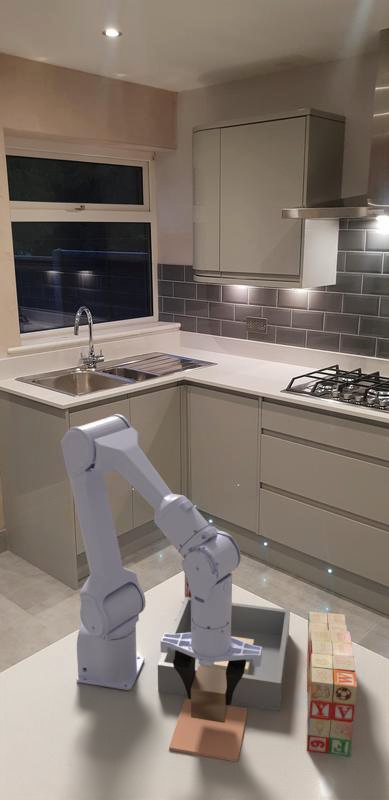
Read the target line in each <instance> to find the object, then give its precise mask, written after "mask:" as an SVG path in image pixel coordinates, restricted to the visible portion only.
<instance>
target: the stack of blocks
mask: <svg viewBox="0 0 389 800" xmlns="http://www.w3.org/2000/svg"><path fill="white" fill-rule="evenodd" d="M307 630H308V631H307V654H306V657H307V658H306V659H307V660H306V661H307V662H306V664H307V665H306V694H307V696H306V697H307V698H306V699H307V714H306V715H307V717H306V751H307V752H311V753H317V754H325V755H328V754H329V755H335V756H341V757H342V756H343V757H347V758H349V757H351V751H352V742H353V736H352V735H353V725H354V724H353V723H354V721H355V712H356V702H357V701H356V700H357V692H358V683H357V675H356V666H355V659H354V657H355V655H354V650H353V649H354V648H353V644H352V637H351V632H350V631H348V626H347V623H346V614H341V613H334V612H333V613H332V612H327V613H326V612H319V611H308V621H307Z"/></svg>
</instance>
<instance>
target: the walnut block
mask: <svg viewBox="0 0 389 800" xmlns="http://www.w3.org/2000/svg"><path fill="white" fill-rule="evenodd" d="M226 692H227V681H226V670H221V669H215V668H208V667H201V666H198V668H197V671H196V675H195V678H194V681H193V684H192V687H191V699H190V700H191V717H192V718H198V719H204V720H210V721H216V722H222V723H225V719H226V715H227V711H228V706H229V705H226Z"/></svg>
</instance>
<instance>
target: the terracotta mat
mask: <svg viewBox="0 0 389 800" xmlns="http://www.w3.org/2000/svg"><path fill="white" fill-rule="evenodd" d="M248 711H249V710H248V708H245V707H239V706H232V705H230V706H228V711H227V715H226V719H225V723H222V722H216V721H210V720H204V719H198V718H192V717H191V699H188V698H184V700H183V703H182V707H181V709H180V712H179V716H178V719H177V722H176V725H175V728H174V731H173V735H172V737H171V739H170V742H169V746H168V750H170V751H175V752H180V753H186V754H190V755H191V754H193V755H198V756H202V757H208V758H214V759H218V760H219V759H220V760H225V761H231V762H236V763H238V761H239V758H240V751H241V748H242V741H243V736H244V730H245V726H246V720H247V715H248Z"/></svg>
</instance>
